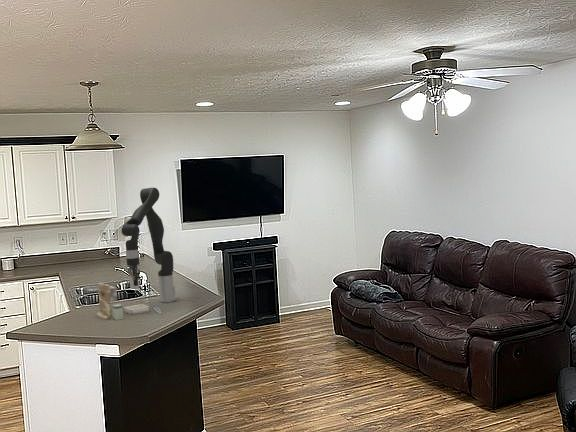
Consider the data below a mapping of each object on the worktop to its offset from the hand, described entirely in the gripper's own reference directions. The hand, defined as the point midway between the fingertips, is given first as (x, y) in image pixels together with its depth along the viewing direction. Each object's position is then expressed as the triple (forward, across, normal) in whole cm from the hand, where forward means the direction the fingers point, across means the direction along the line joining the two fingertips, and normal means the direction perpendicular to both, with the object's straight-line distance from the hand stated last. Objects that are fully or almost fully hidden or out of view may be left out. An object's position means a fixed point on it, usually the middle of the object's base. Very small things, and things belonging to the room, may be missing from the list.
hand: (134, 285), depth 370 cm
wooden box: (+17, +3, +16) cm, 23 cm away
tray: (+16, 0, 0) cm, 16 cm away
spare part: (+2, 0, 0) cm, 2 cm away
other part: (+17, -9, +15) cm, 24 cm away
